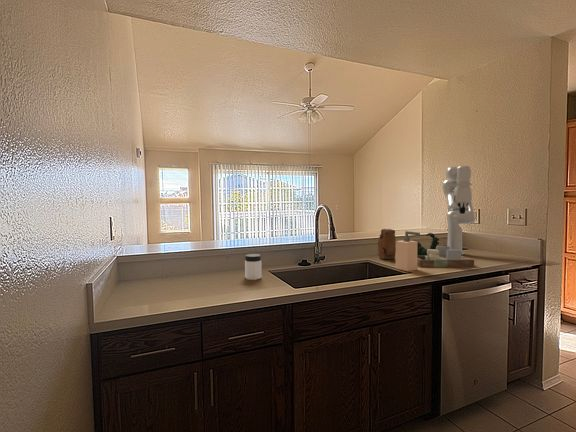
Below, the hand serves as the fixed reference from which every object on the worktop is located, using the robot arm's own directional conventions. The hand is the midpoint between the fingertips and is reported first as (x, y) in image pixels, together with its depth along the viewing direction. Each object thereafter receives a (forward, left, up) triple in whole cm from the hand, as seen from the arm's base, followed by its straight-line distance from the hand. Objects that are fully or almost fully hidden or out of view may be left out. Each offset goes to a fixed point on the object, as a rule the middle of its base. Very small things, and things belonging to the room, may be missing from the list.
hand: (462, 213), depth 209 cm
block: (-7, -47, -31) cm, 57 cm away
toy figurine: (-10, -22, -31) cm, 40 cm away
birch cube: (+12, -24, -27) cm, 38 cm away
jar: (+43, -132, -31) cm, 142 cm away
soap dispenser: (+26, -44, -31) cm, 60 cm away
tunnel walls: (+11, -14, -27) cm, 32 cm away
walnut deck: (+11, -19, -31) cm, 38 cm away
